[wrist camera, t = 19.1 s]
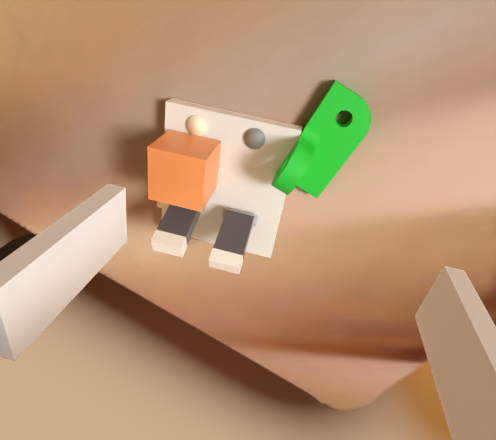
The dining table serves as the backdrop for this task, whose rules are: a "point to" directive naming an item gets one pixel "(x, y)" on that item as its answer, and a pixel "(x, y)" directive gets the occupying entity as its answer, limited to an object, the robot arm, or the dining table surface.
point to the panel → (238, 167)
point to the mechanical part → (324, 142)
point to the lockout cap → (183, 169)
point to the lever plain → (232, 240)
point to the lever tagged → (175, 230)
